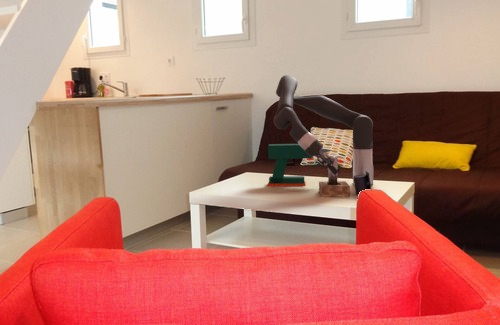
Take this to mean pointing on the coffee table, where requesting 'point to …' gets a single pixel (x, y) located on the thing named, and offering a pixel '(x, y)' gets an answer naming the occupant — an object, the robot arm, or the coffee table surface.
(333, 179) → the grey upright block
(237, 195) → the coffee table surface
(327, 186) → the block
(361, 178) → the speaker
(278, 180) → the power tool
